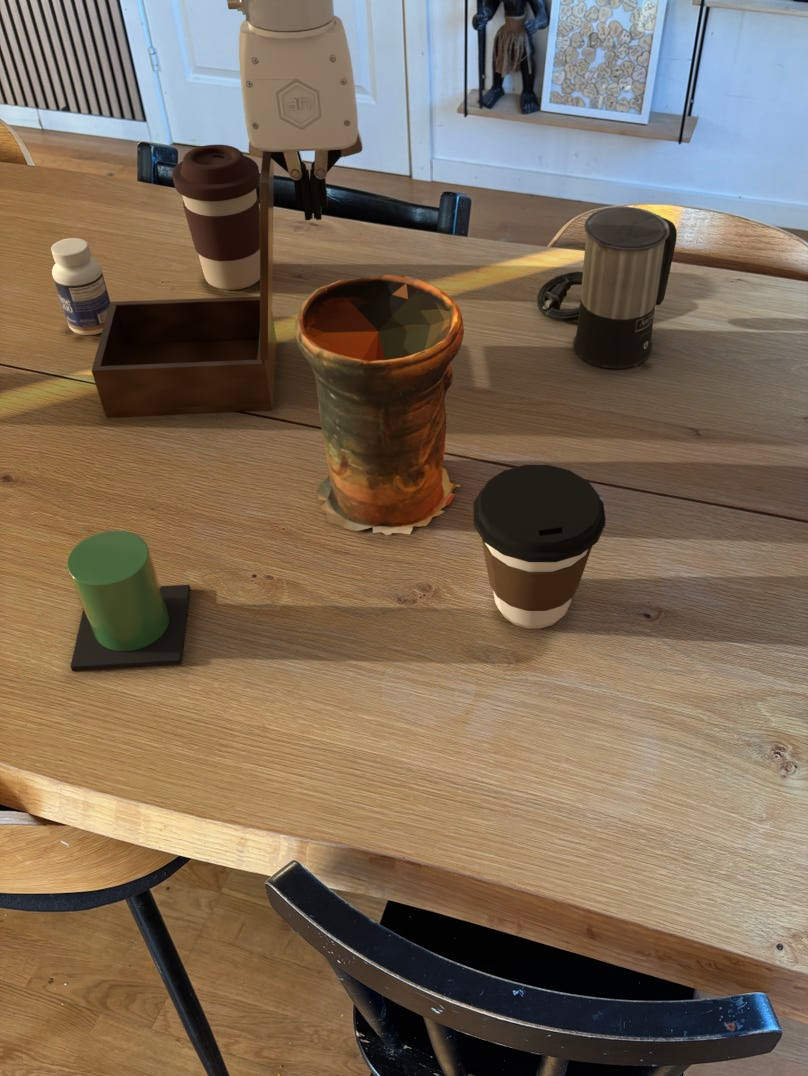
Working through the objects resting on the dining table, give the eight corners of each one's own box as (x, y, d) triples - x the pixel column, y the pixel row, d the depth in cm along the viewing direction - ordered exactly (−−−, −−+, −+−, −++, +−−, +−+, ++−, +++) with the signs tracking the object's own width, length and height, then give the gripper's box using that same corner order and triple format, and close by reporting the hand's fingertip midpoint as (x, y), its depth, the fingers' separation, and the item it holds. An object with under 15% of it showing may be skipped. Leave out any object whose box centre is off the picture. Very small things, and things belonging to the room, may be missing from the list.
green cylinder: (88, 654, 85) (60, 587, 80) (99, 599, 90) (73, 532, 84) (165, 649, 86) (143, 582, 80) (173, 595, 90) (152, 528, 84)
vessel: (436, 558, 95) (431, 374, 80) (294, 526, 97) (264, 343, 82) (480, 465, 104) (484, 285, 89) (350, 439, 107) (333, 259, 92)
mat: (72, 671, 85) (69, 666, 85) (88, 594, 91) (87, 590, 90) (181, 664, 86) (179, 659, 85) (190, 588, 92) (189, 584, 91)
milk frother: (638, 378, 115) (657, 254, 104) (508, 347, 118) (513, 224, 107) (670, 316, 124) (691, 196, 113) (548, 290, 127) (557, 170, 116)
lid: (259, 182, 92) (268, 183, 92) (265, 121, 101) (274, 122, 101) (260, 359, 105) (267, 360, 105) (265, 291, 114) (272, 292, 114)
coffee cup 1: (221, 305, 124) (197, 182, 112) (179, 274, 129) (153, 153, 117) (289, 279, 128) (273, 158, 117) (246, 249, 133) (227, 130, 122)
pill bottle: (66, 317, 121) (41, 239, 114) (111, 308, 123) (89, 231, 116) (72, 340, 118) (47, 261, 111) (119, 331, 120) (97, 252, 112)
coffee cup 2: (608, 640, 88) (624, 538, 79) (485, 658, 87) (488, 556, 78) (574, 554, 95) (586, 452, 86) (460, 570, 94) (460, 468, 85)
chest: (105, 417, 108) (91, 370, 104) (122, 347, 117) (110, 301, 113) (272, 410, 110) (264, 363, 105) (276, 341, 119) (269, 295, 114)
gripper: (197, 22, 84) (235, 235, 98) (377, 18, 85) (390, 229, 99) (205, -7, 89) (239, 199, 103) (375, -11, 90) (387, 194, 104)
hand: (313, 213), depth 101 cm, fingers closed
